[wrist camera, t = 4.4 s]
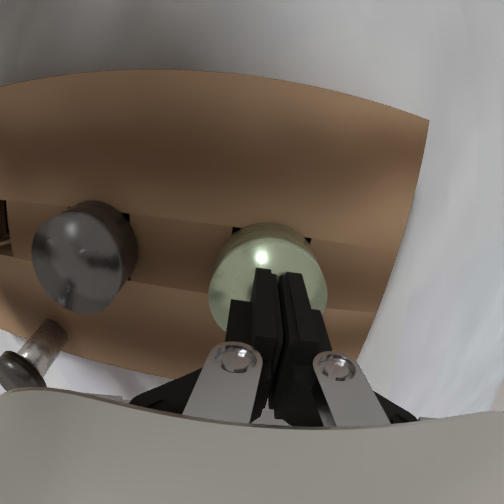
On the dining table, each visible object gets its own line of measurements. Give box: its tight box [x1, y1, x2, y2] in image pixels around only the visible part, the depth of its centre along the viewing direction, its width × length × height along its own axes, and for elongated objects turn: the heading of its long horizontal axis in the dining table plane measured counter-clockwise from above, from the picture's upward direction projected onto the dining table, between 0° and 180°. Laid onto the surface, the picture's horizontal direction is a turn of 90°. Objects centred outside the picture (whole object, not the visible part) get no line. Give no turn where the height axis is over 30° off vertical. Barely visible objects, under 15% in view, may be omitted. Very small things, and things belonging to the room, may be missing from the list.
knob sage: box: [208, 222, 328, 332], centre depth 14 cm, size 4×4×5 cm
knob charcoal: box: [31, 200, 138, 315], centre depth 13 cm, size 4×4×5 cm
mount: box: [0, 69, 429, 379], centre depth 15 cm, size 16×28×3 cm, turn 81°
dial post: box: [0, 319, 68, 391], centre depth 14 cm, size 3×3×5 cm
